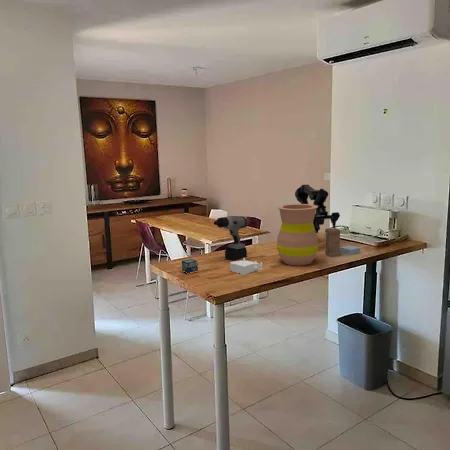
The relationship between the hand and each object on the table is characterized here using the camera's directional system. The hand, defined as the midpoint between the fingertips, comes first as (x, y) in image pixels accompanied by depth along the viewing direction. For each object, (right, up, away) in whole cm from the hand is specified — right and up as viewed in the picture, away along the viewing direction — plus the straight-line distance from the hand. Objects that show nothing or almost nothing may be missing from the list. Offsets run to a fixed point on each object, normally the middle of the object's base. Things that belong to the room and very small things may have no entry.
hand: (327, 229), depth 246 cm
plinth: (+13, -13, -1) cm, 19 cm away
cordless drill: (-55, -17, -6) cm, 58 cm away
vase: (-20, -18, -15) cm, 31 cm away
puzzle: (-77, -22, -28) cm, 85 cm away
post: (+2, -15, -5) cm, 16 cm away
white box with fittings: (-47, -21, -27) cm, 58 cm away
